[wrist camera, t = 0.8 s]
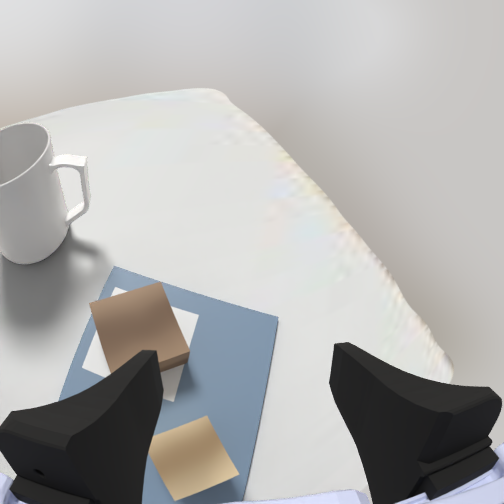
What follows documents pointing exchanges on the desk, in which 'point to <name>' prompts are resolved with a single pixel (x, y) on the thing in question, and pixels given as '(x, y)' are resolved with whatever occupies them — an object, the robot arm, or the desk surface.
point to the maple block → (191, 458)
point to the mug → (34, 193)
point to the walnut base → (139, 327)
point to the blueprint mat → (197, 378)
